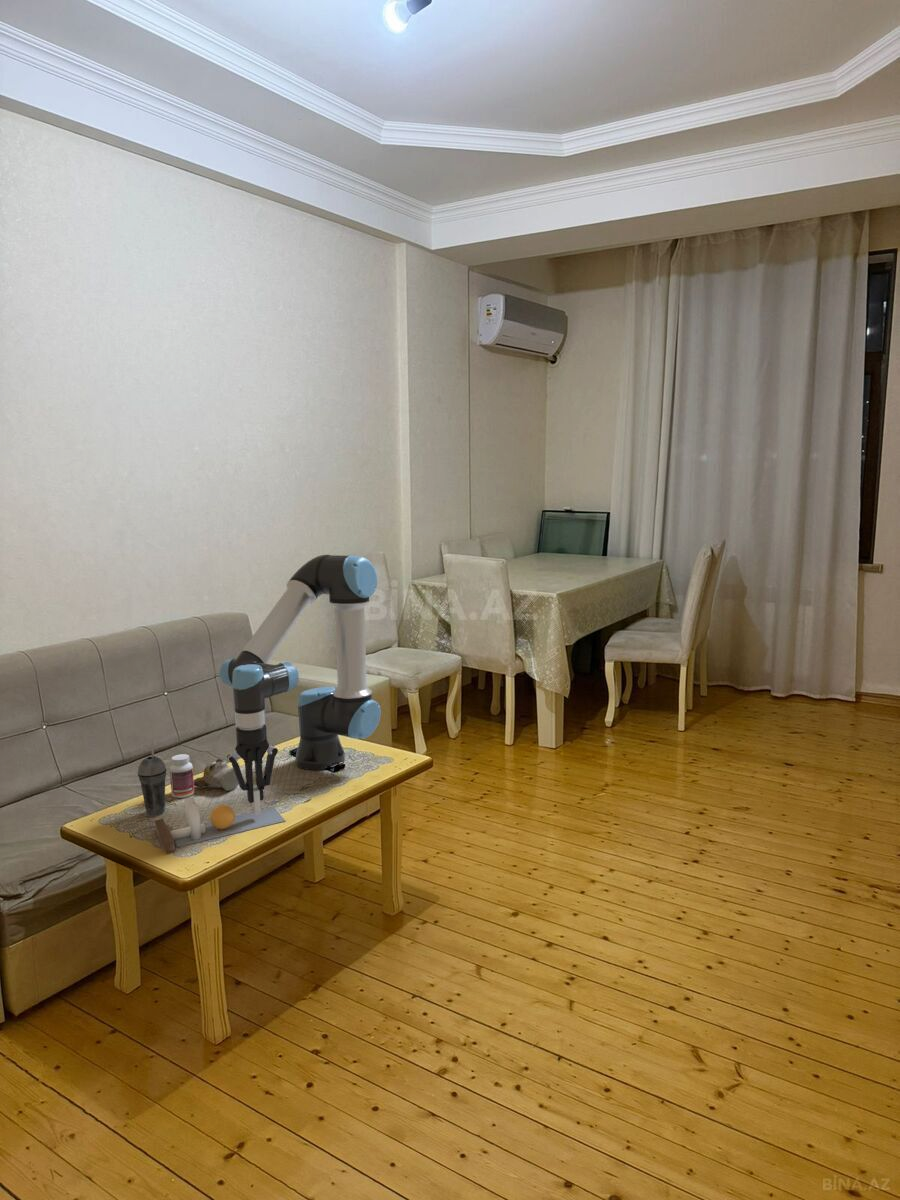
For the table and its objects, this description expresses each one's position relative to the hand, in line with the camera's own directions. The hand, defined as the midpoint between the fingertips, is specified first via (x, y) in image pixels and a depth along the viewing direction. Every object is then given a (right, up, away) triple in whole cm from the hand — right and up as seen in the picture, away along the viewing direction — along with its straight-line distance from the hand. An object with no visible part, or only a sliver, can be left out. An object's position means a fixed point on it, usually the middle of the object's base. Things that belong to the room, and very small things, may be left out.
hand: (256, 812), depth 207 cm
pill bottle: (-25, 0, +18) cm, 31 cm away
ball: (-8, 0, -5) cm, 9 cm away
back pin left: (-13, -4, -10) cm, 16 cm away
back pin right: (-15, -3, -5) cm, 16 cm away
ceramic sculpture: (-16, +1, +23) cm, 28 cm away
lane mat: (-7, -3, -3) cm, 8 cm away
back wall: (-20, -4, -11) cm, 23 cm away
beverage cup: (-28, -2, +6) cm, 29 cm away
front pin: (-12, -2, -6) cm, 13 cm away
